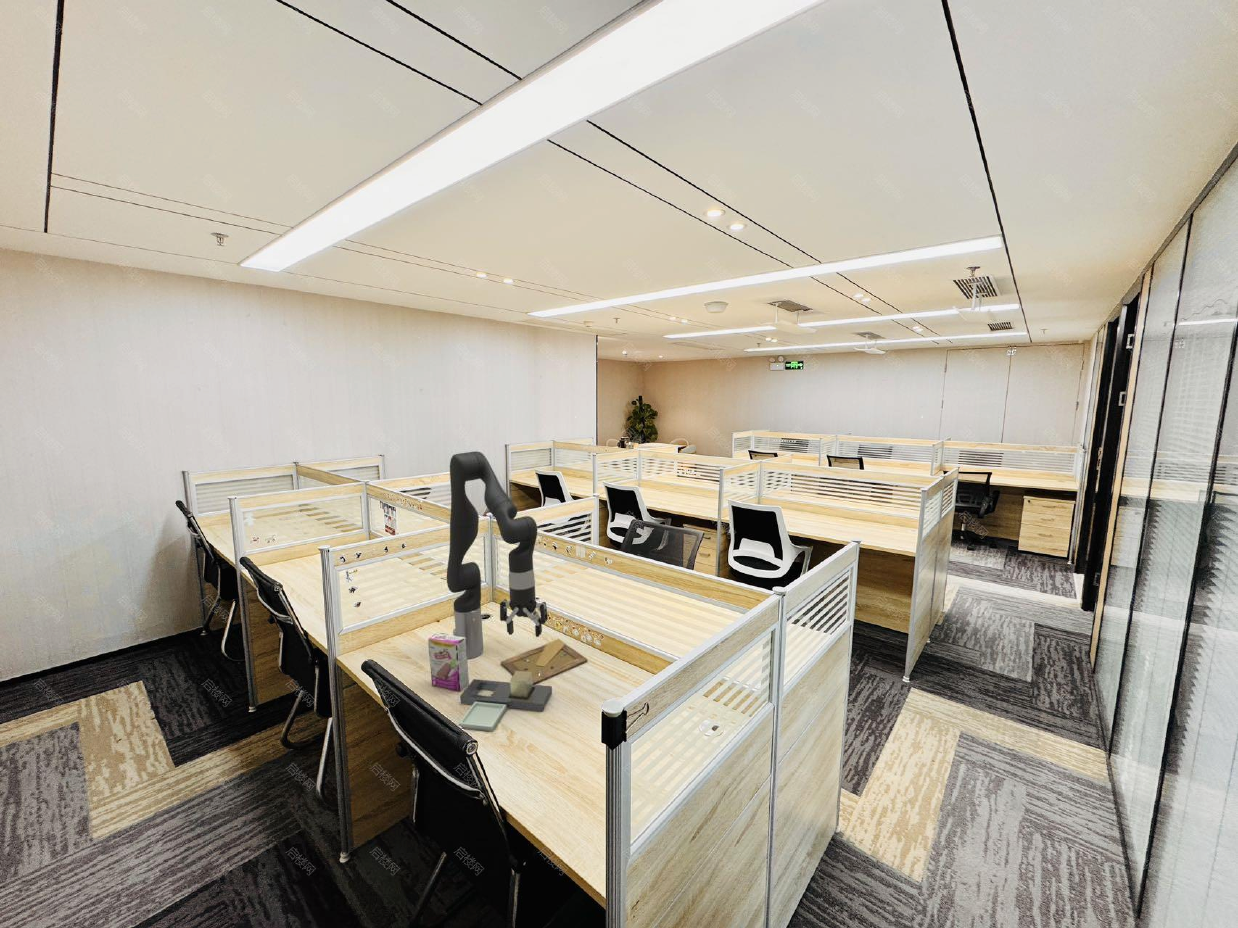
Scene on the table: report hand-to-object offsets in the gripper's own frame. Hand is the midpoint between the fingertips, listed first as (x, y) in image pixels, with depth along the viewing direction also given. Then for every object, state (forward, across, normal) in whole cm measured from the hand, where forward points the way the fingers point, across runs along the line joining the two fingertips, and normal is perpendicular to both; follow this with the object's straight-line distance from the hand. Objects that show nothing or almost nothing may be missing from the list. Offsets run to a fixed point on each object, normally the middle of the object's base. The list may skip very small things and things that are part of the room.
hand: (524, 634), depth 153 cm
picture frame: (+21, -2, +20) cm, 29 cm away
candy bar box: (+21, -27, +2) cm, 34 cm away
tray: (+21, -9, -12) cm, 25 cm away
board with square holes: (+21, -6, -2) cm, 22 cm away
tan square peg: (+21, -1, -2) cm, 21 cm away
